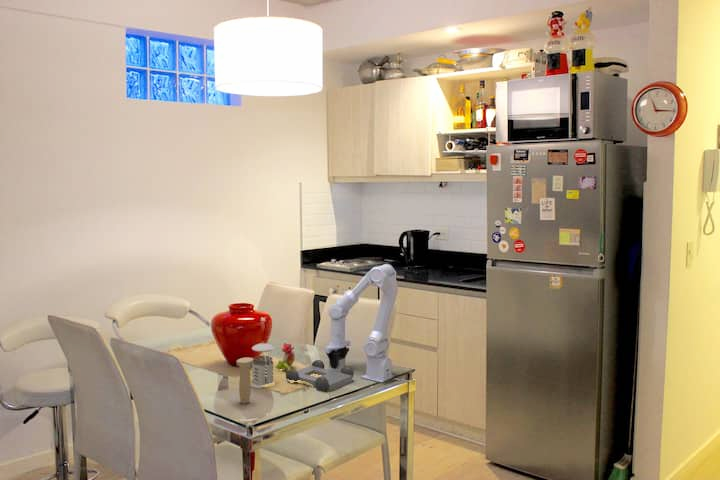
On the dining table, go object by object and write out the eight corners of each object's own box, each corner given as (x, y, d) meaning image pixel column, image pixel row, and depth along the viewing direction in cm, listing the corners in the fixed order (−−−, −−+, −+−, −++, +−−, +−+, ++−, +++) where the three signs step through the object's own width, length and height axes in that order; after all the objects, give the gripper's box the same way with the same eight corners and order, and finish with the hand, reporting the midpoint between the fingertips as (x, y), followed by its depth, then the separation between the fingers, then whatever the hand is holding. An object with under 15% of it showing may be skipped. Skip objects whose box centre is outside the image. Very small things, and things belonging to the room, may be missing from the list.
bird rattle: (282, 372, 284) (272, 369, 276) (287, 344, 287) (278, 341, 279) (296, 374, 282) (286, 371, 274) (301, 346, 285) (292, 343, 277)
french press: (271, 378, 270) (271, 314, 267) (281, 387, 259) (281, 321, 256) (246, 381, 266) (246, 316, 263) (255, 390, 255) (255, 323, 252)
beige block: (345, 370, 282) (345, 358, 281) (339, 372, 279) (339, 360, 278) (335, 368, 285) (335, 355, 284) (329, 370, 281) (329, 358, 281)
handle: (256, 400, 245) (256, 358, 243) (245, 406, 239) (245, 363, 238) (244, 398, 247) (244, 356, 245) (233, 404, 241) (233, 361, 240)
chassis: (354, 380, 269) (354, 368, 268) (326, 392, 255) (327, 379, 254) (313, 370, 280) (313, 358, 280) (284, 381, 266) (284, 368, 266)
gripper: (340, 328, 288) (339, 360, 290) (318, 335, 276) (317, 369, 278) (354, 331, 284) (354, 364, 286) (333, 338, 272) (332, 372, 274)
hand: (337, 366), depth 281 cm, fingers closed on beige block, 4 cm apart
